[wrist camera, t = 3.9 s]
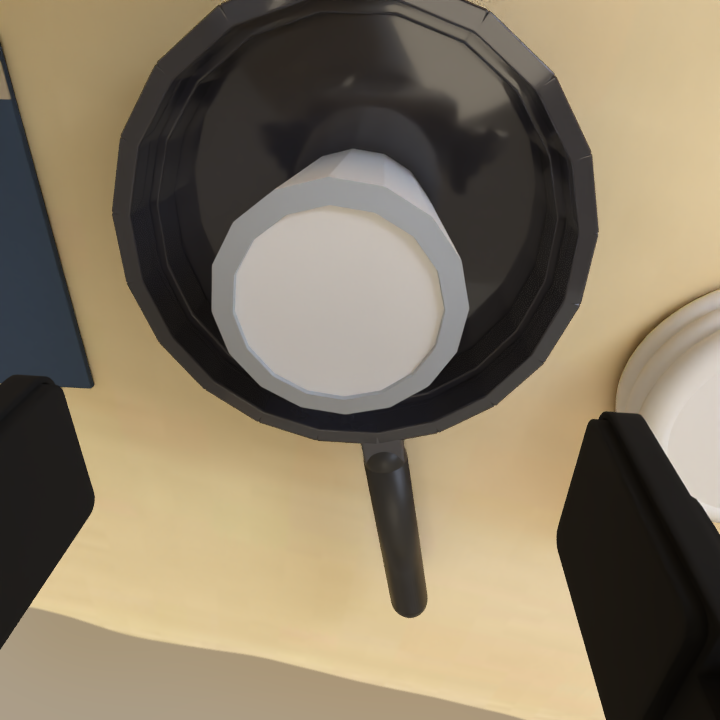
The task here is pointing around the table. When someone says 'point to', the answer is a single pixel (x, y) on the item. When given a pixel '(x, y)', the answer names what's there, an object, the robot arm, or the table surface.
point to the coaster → (682, 394)
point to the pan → (369, 133)
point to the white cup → (341, 286)
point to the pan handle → (396, 524)
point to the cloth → (31, 268)
